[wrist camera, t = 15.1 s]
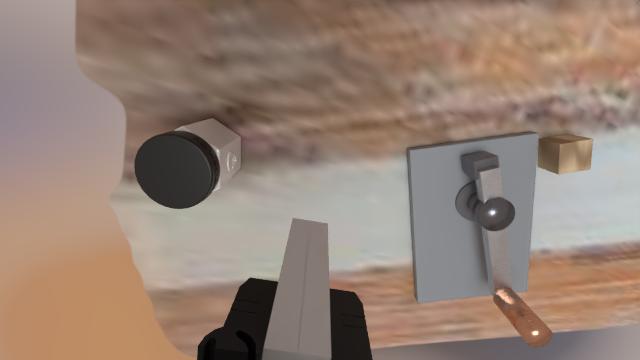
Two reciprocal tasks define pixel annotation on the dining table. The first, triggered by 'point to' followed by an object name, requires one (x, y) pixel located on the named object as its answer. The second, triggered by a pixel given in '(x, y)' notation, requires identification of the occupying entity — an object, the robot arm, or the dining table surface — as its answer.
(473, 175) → the lever
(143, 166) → the jar
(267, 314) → the robot arm
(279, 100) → the dining table surface
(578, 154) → the block
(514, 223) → the base
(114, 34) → the dining table surface
